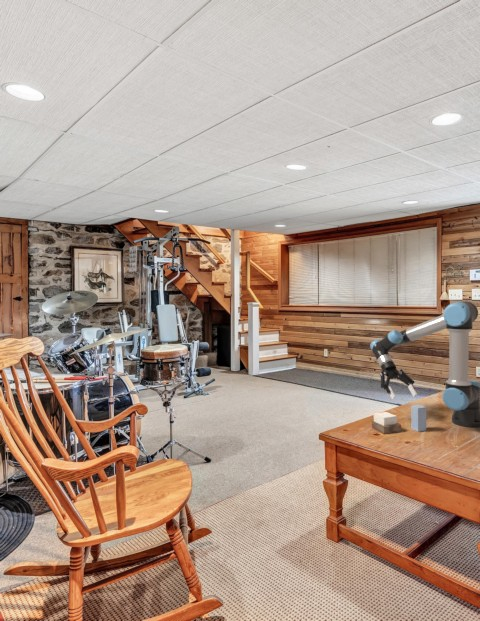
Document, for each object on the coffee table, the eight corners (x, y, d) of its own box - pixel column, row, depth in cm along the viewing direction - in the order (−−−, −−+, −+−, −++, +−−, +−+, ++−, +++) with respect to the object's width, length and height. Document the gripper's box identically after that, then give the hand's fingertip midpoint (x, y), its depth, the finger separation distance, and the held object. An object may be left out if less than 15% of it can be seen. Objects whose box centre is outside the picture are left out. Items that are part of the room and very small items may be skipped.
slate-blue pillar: (419, 427, 214) (419, 404, 213) (426, 430, 209) (426, 407, 208) (411, 428, 212) (411, 405, 212) (418, 431, 207) (417, 408, 207)
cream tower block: (386, 419, 217) (386, 411, 216) (397, 423, 209) (397, 416, 209) (373, 421, 214) (373, 413, 214) (384, 425, 206) (384, 418, 206)
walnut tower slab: (388, 426, 218) (388, 418, 217) (401, 432, 208) (401, 424, 208) (372, 428, 215) (372, 421, 215) (384, 434, 205) (384, 426, 205)
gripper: (402, 366, 240) (420, 398, 226) (364, 369, 232) (381, 402, 219) (408, 358, 234) (427, 391, 221) (370, 361, 227) (387, 395, 213)
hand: (404, 397), depth 220 cm, fingers open, 13 cm apart
